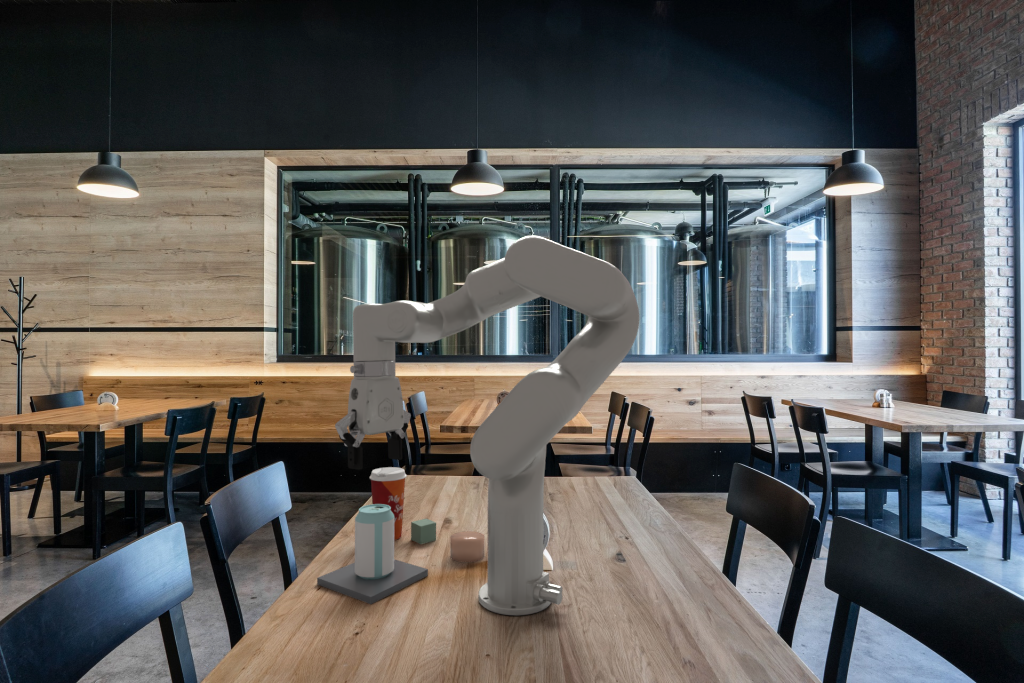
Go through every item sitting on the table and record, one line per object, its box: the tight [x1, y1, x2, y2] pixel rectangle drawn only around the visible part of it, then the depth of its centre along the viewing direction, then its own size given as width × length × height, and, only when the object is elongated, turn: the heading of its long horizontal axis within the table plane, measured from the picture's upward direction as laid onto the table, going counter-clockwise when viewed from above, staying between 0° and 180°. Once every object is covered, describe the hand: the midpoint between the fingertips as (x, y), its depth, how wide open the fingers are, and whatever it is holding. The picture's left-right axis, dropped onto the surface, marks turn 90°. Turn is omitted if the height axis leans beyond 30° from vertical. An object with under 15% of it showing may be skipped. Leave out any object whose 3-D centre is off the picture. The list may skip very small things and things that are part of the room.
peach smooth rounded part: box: [449, 530, 486, 563], centre depth 114 cm, size 7×7×4 cm
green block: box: [410, 517, 437, 545], centre depth 123 cm, size 4×4×4 cm
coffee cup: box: [369, 466, 407, 541], centre depth 125 cm, size 8×8×15 cm
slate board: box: [316, 558, 429, 605], centre depth 102 cm, size 14×14×1 cm
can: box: [354, 503, 395, 580], centre depth 102 cm, size 7×7×12 cm
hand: (376, 463), depth 102 cm, fingers open, 9 cm apart
